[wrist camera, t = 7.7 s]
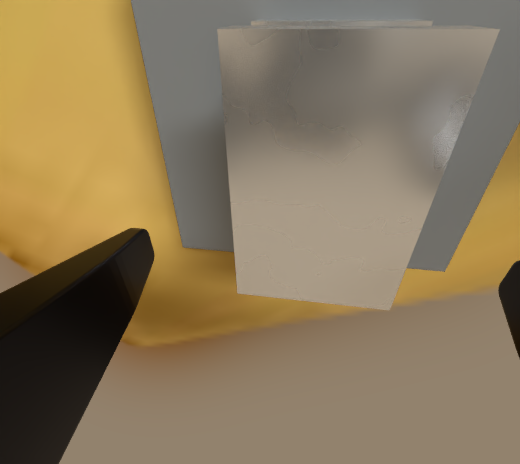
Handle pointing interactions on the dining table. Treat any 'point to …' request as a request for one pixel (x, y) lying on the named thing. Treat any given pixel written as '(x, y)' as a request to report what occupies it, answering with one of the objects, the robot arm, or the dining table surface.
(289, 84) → the block
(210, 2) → the stand
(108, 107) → the dining table surface
